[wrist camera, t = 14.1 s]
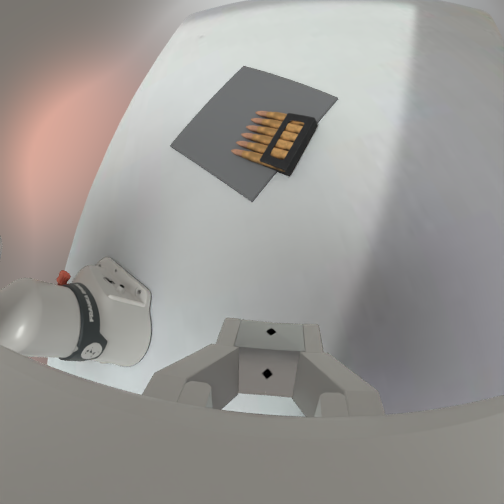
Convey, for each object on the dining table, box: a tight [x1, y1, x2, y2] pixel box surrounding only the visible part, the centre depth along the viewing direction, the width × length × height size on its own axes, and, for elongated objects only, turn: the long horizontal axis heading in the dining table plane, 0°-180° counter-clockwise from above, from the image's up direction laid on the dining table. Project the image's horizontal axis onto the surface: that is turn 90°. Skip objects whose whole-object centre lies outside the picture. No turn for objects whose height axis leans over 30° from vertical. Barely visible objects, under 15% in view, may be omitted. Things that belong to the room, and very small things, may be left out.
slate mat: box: [170, 66, 338, 202], centre depth 52 cm, size 24×24×1 cm
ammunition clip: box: [231, 111, 317, 176], centre depth 47 cm, size 11×2×12 cm
